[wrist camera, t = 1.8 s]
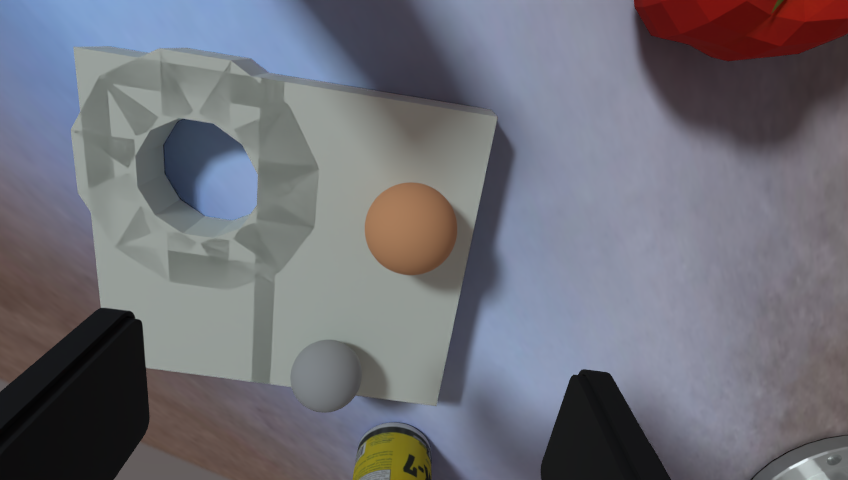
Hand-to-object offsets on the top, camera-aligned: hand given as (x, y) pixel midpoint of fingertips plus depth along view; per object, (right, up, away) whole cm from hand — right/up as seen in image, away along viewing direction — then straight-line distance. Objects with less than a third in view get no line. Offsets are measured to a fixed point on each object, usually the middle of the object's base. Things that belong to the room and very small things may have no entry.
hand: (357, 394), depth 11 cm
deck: (-5, +4, +15) cm, 17 cm away
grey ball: (-3, -3, +14) cm, 14 cm away
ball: (+1, +4, +10) cm, 11 cm away
